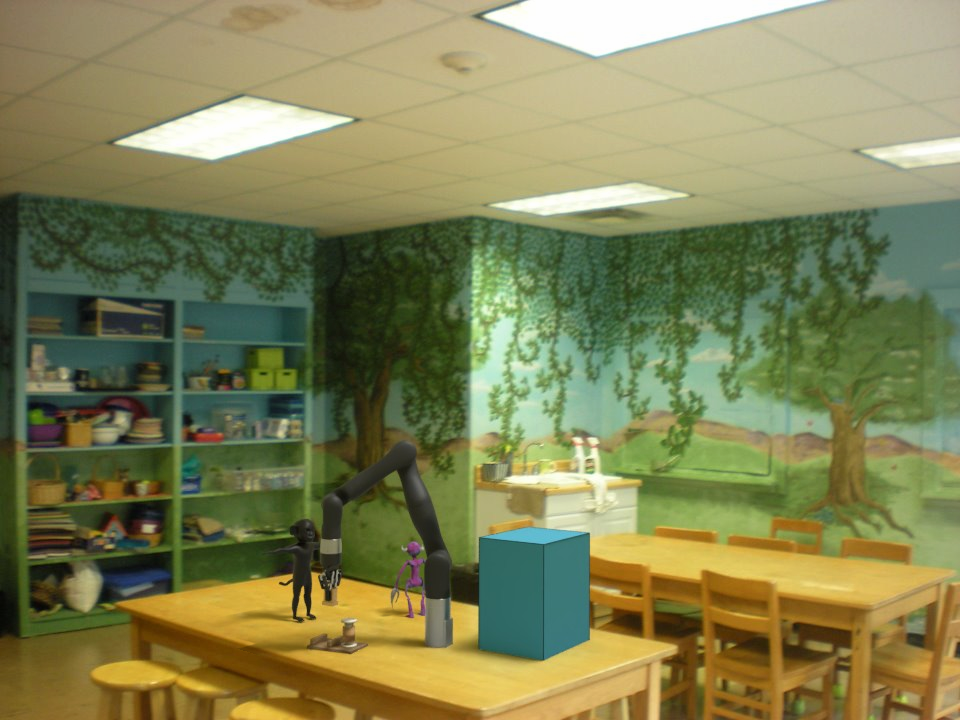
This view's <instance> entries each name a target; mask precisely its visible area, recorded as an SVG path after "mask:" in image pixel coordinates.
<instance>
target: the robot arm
mask: <svg viewBox="0 0 960 720" xmlns="http://www.w3.org/2000/svg"><path fill="white" fill-rule="evenodd" d="M417 454H418V449H417V447H416V446H415V444H414V443H413V442H411V441H410V440H399V441H397V442H395V443H394V444H393V445H392V446H391V449H390V450H389V451H388V452H387V453H386V454H385V455H384V456H382V458H380V459H379V460H378V461H376V462H375V463H374V464H372V465H370V466H368V467H366V468H365V469H363V470H362V471H359V473H357V474H356V475H354V476H352V478H350V479H349V480H348V481H346V482H344V484H342V485H341V486H339V487H337V488H335V489H333V490H332V491H330V492H329V493H327V494H326V495H324V497H323V498H322V499H321V502H320V506H321V509H322V523H321V533H320V535H321V537H320V538H321V539H320V542H321V545H320V548H319V550H320V554H319V557H320V558H319V560H320V561H319V563H320V565H321V566H322V572H321V574H318V576H317V580H318V582H319V585H320V588H321V590H323V591H324V590H325V601H331V590H332V587H335V588H337V589H338V587H339V586H340V584H341V581H342V577H343V573H344V570H343V569H340V565H342V562H343V561H342V558H343V557H342V556H343V554H342V551H343V544H342V543H343V542H342V517H343V507H344V506H345V505H347V504H348V503H350V502H353V501H355V500H357V499H358V498H360V497H361V496H363V495H364V494H366V493H367V492H368V491H369V490H371V489H372V488H373V487H375V486H376V485H377V484H379V482H382V480H384V479H385V478H387V477H388V476H389V475H391V474H392V473H394V472H397V475H398V477H399V481H400V483H401V487H402V493H403V496H404V500H405V504H406V509H407V512H408V514H409V518H410V520H411V523H412V525H413V526H414V528H415V530H416V532H417V533H418V535H419V537H420V539H421V541H422V544H423V548H424V551H425V554H426V559H425V564H424V567H423V572H424V573H423V583H424V588H425V592H424V596H425V598H424V604H425V616H424V646H426V647H427V648H432V649H446V648H449V647H450V646H452V645H454V618H453V617H451V615H452V614H451V613H452V612H451V611H452V608H451V607H452V591H451V590H452V589H451V578H450V577H451V570H452V568H453V560H452V556H451V555H450V553H449V550H448V549H447V546H446V543H445V541H444V539H443V536H442V533H441V528H440V525H439V520H438V517H437V514H436V509H435V507H434V503H433V501H432V497H431V495H430V493H429V491H428V489H427V487H426V485H425V483H424V481H423V479H422V478H421V475H420V472H419V467H418V463H417V459H416V458H417Z"/></svg>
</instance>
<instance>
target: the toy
mask: <svg viewBox="0 0 960 720" xmlns="http://www.w3.org/2000/svg"><path fill="white" fill-rule="evenodd" d="M400 550H401V551H402V552H403V553H407V555H408V556H410V557H412V560H409V559H406V560H405V563H404V564H403V565H402V567H401V568H400V570H399V573H398V575H397V576H396V577H397V578H396V580H395V585H394V588H392V589H391V592H390V604H391V606H392V609H394V605H393V603H397V602H398V599H399V597H400V591H399V589H398V588H399V587H398V585H399V581H400V577H401V576H402V573H404V571H405V569H406V567H407V566H410V578H409V577H408V578H407V579H406V585H405V589H404V595H405V597H406V598H407V599H406V600H407V605H408V606H407V608H408V614H406V615H405V617H406V618H408V619H414V618H415V615H414V612H413V604H412V602H411V601H410V600H411V598H410V596H409V595H408V593H407V592H408V589H412V588H417V587H420V588H421V587H422V593H421V600H420V612H417V615H419V616H421V617H422V616H423V617H425V588H424V578H423V577H421V576H419V575H420V566H421V565H423V564H424V565H425V561H426V559H425V558H424V557H421V558H420V559H417V556H418V555H420V553H421V552H424V551H425V547H424V544H423V543H421V544H420V543H418V542H417V541H410V542H409V543H407V545H406V547H405V548H404V545H403V544H401V549H400ZM396 594H397V595H396ZM395 597H396V600H395ZM394 601H395V602H394Z"/></svg>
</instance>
